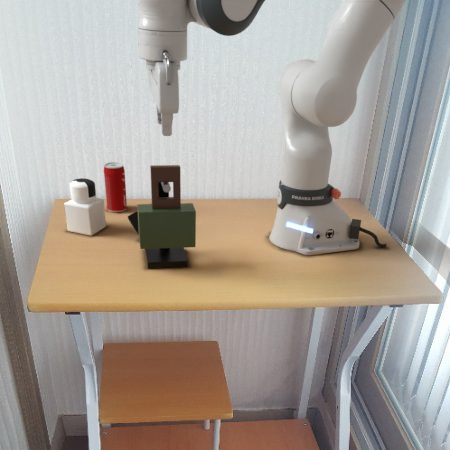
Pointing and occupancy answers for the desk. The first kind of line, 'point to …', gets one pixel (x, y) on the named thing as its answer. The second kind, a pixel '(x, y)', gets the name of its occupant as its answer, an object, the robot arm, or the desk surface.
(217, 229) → the desk surface
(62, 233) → the desk surface
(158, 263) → the peg stand
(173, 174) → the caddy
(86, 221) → the medicine bottle
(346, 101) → the robot arm
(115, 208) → the soda can
